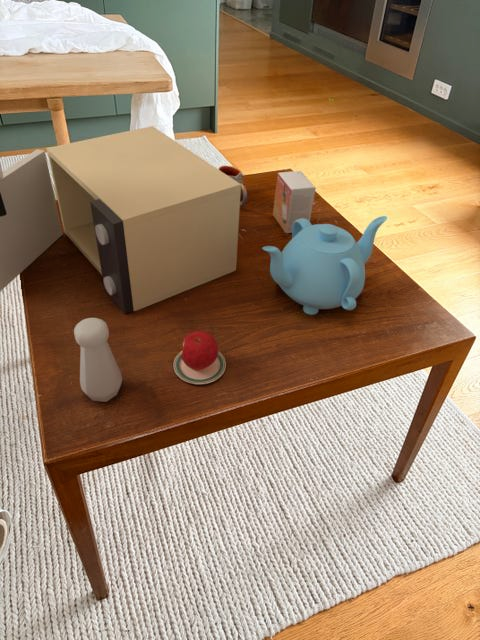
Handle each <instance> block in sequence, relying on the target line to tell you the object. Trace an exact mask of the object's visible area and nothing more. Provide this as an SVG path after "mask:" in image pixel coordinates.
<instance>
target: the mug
mask: <svg viewBox="0 0 480 640" xmlns="http://www.w3.org/2000/svg"><path fill="white" fill-rule="evenodd" d="M217 169H218V170H220V171H221V172H223V173H224V174H226V175H227V176H229V177H230V178H232V179H234V180H235V181H237V182H238V183H240V184H241V192H240V198H242V201H240V208H241V207H244V206H246V204H247V201H248V190H247V188H246V186H245V185H244V181H243V177H244V174H243V172H242V171H241V169H239V168H237V167H235V166H231V165H220V166H219V167H218V168H217Z"/></svg>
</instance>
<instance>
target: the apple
mask: <svg viewBox="0 0 480 640" xmlns="http://www.w3.org/2000/svg"><path fill="white" fill-rule="evenodd" d="M226 366H227V363H226V358H225V356H223V354H222V353H221V352H220V351H219V346H218V342H217V340H216V339H215V337H214V336H213V335H212V333H210V332H208V331H205V330H195V331H193V332H190V333H189V334H187V335H186V336H185V337H184V338H183V342H182V350H181V351H179V353H178V354H177V355H176V357H175V358H174V360H173V370H174V373H175V374H176V376H177V377H178V378H179V379H181V380H182V381H184V382H186V383H189V384H191V385H207V384H210V383H213V382H215V381H217V380H219V379H220V378H222V375H224V373H225V371H226Z"/></svg>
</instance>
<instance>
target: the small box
mask: <svg viewBox="0 0 480 640" xmlns="http://www.w3.org/2000/svg"><path fill="white" fill-rule="evenodd" d="M316 189H317V187H316V186H315V185H314V184H313V183H312V182H311V181H310V180H309V179H308V178H307V177H306V175H305V174H304V173H303V171H302V170H294V171H283V172H281V171H280V172H277V176H276V183H275V191H274V192H275V193H274V201H273V208H272V209H273V210H272V216H273V218H274V219H275V221H276V222H277V223H278V225H279V226H280V228H281V230H282V231H283V232H284V234H292V228H293V223H294V222H295V221H296V220H297V219H301V218H304V219H307V220H309V221H310V222H311V217H312V211H313V206H314V200H315V195H316ZM302 230H303V228H302Z"/></svg>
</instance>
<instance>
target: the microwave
mask: <svg viewBox="0 0 480 640" xmlns="http://www.w3.org/2000/svg"><path fill="white" fill-rule="evenodd" d="M46 152H47V156H48V161H49V166H50V172H51V176H52V180H53V185H54V190H55V196H56V200H57V204H58V208H59V214H60V218H61V222H62V227H63V232H64V233H63V234H65V235H66V237H68V238H69V240H70V241H71V243H73V244H74V246H75V247H76V248H77V249H78V250H79V251H80V252H81V253H82V255H83V256H84V257H85V258H86V259H87V261H89V263H90V264H91V265H92V266H93V267H94V268H95V269H96V270H97V271H98V273H99V274H100V275H101V276H102V282H103V288H104V289H103V290H104V292H106V293H107V295H108V296H109V297H110V298H111V299H112V301H114V303H115V304H116V305H117V306H118V307H119V309H120V310H121V311H122V313H124V314H125V315H127V314H129V313H132V312H136V311H139V310H142V309H144V308H146V307H149V306H152V305H154V304H156V303H159V302H161V301H165V300H167V299H169V298H171V297H174V296H176V295H179V294H181V293H183V292H186V291H189V290H191V289H194V288H196V287H198V286H201V285H203V284H206V283H209V282H211V281H213V280H216V279H219V278H221V277H223V276H227V275H229V274H231V273H234V272H236V271H237V259H238V240H239V225H240V209H241V207H240V202H241V197H240V192H241V184H240V183H238V182H237V181H235V180H234V179H232V178H230V177H229V176H227V175H226V174H224V173H223V172H221V171H220V170H218V168H217V167H215V166H214V165H213V164H211V163H209V162H208V161H206V160H205V159H203V158H202V157H200V156H199V155H198V154H196V153H194V152H193V151H191V150H190V149H188V148H186V147H184V145H182V144H181V143H179V142H177V141H176V140H174V139H173V138H171V137H170V136H168V135H167V134H165V133H164V132H162V131H161V130H160V129H157V128H156V127H154V126H153V125H151V126H146V127H142V128H136V129H132V130H131V129H130V130H127V131H123V132H117V133H112V134H107V135H103V136H97V137H93V138H88V139H84V140H79V141H73V142H69V143H64V144H60V145H55V146H50V147H46Z"/></svg>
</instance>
